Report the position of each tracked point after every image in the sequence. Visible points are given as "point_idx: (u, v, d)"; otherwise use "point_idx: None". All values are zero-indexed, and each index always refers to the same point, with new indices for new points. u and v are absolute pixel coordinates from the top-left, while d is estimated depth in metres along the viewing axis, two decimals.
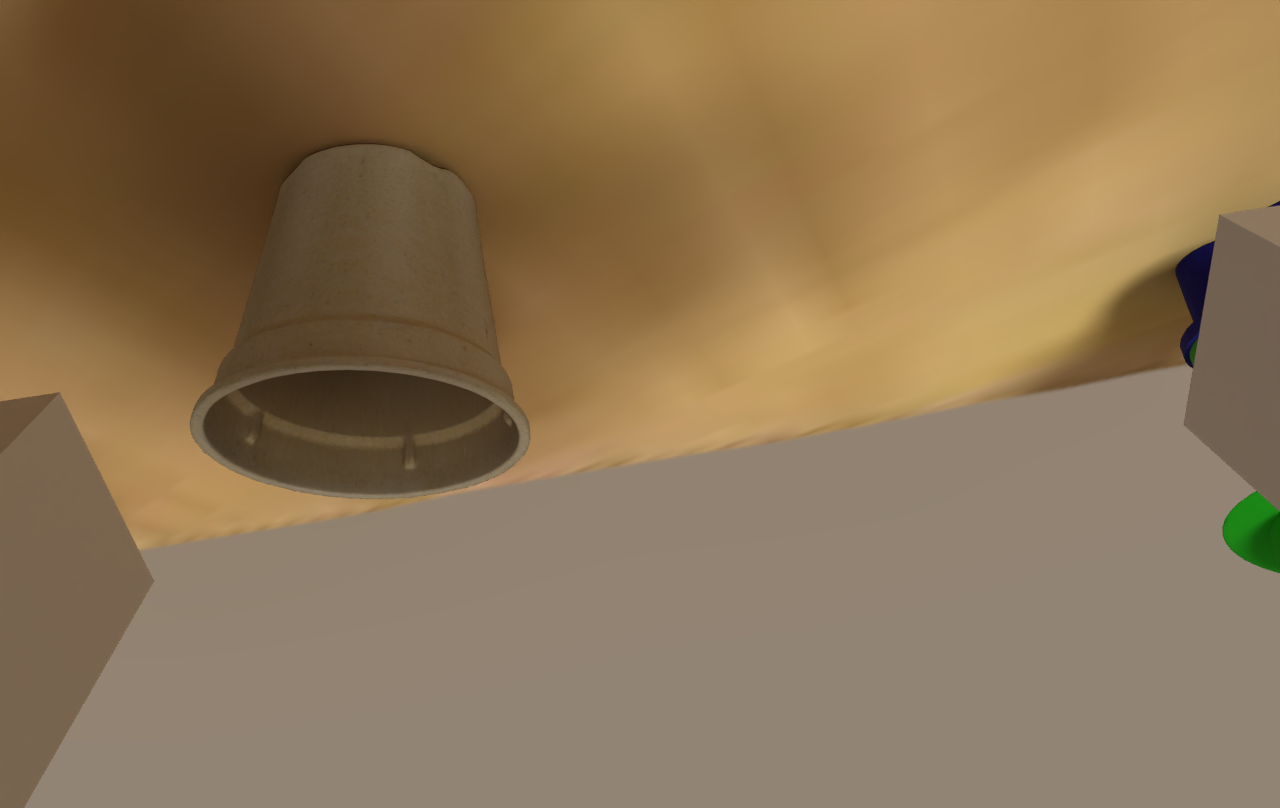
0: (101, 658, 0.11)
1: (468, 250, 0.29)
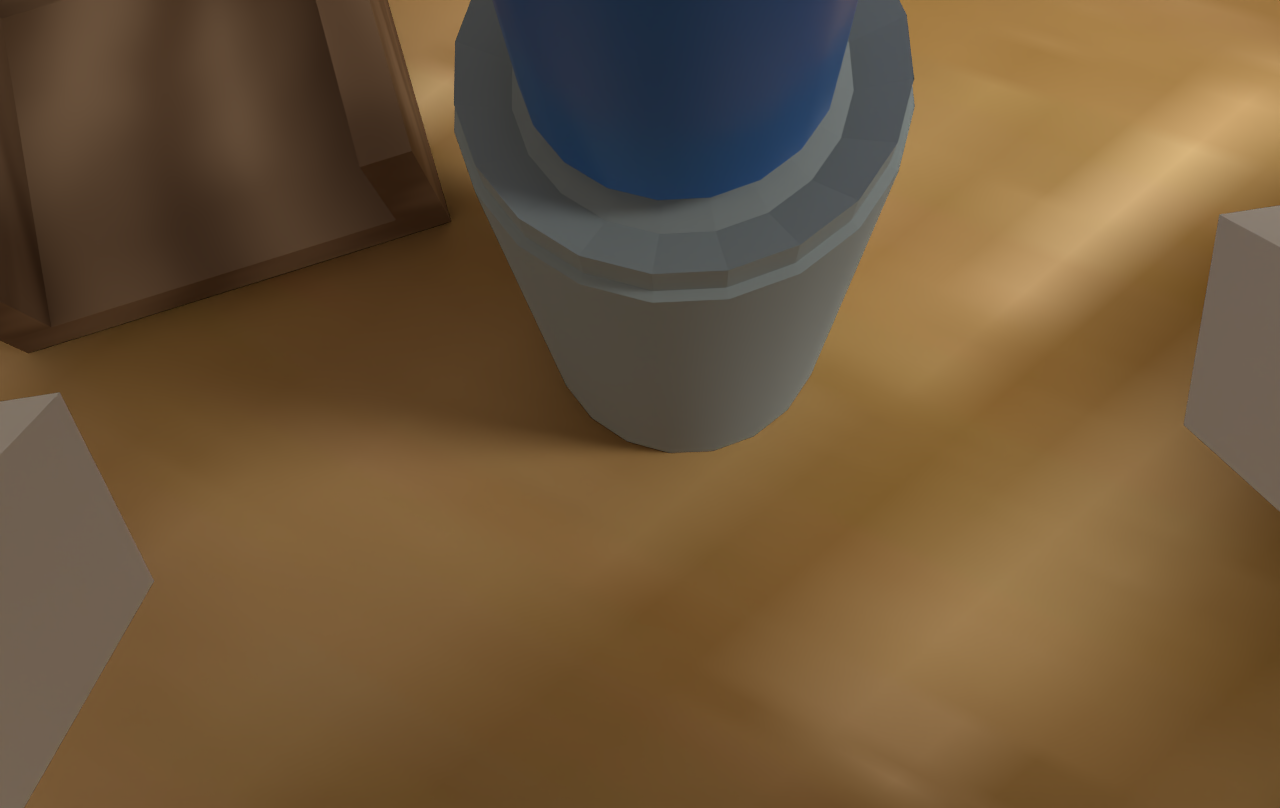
0: (101, 658, 0.11)
1: None
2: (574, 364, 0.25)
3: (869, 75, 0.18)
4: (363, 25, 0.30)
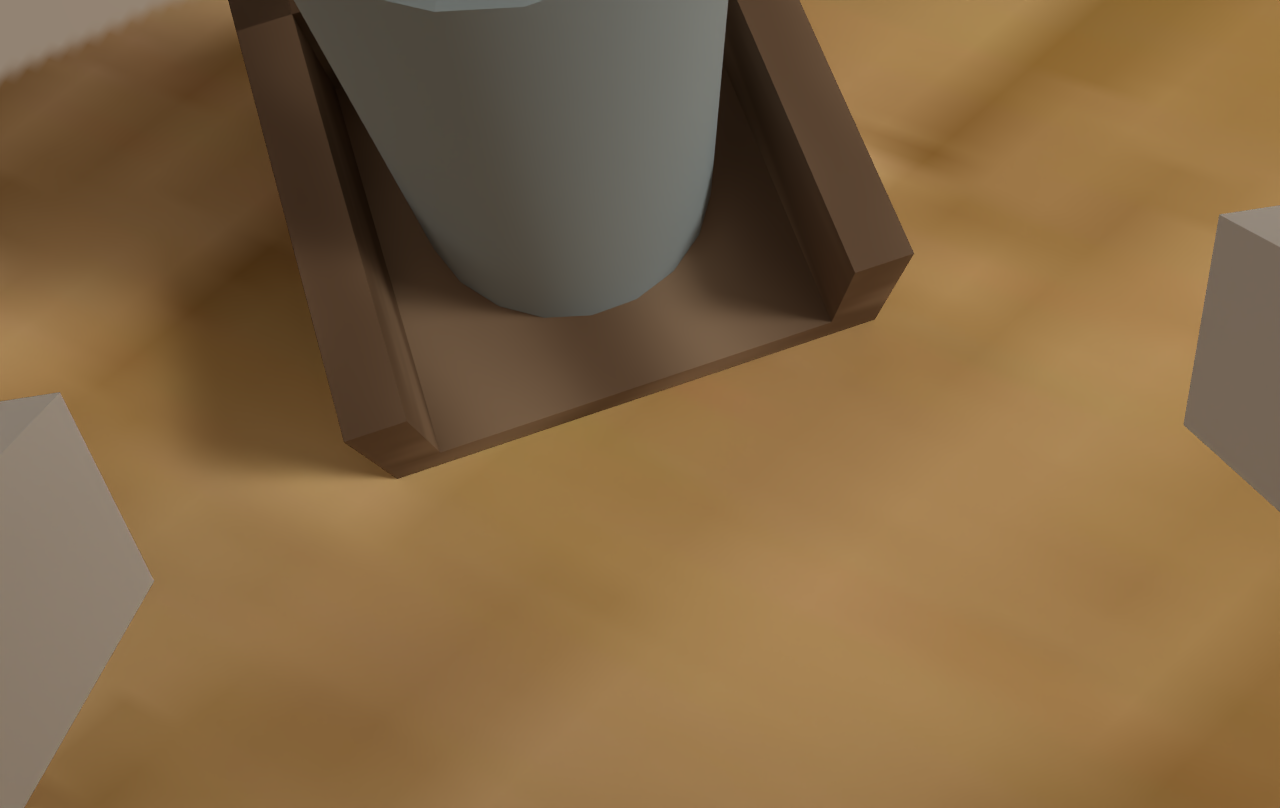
0: (102, 658, 0.11)
1: None
2: (411, 180, 0.22)
3: None
4: (831, 105, 0.26)
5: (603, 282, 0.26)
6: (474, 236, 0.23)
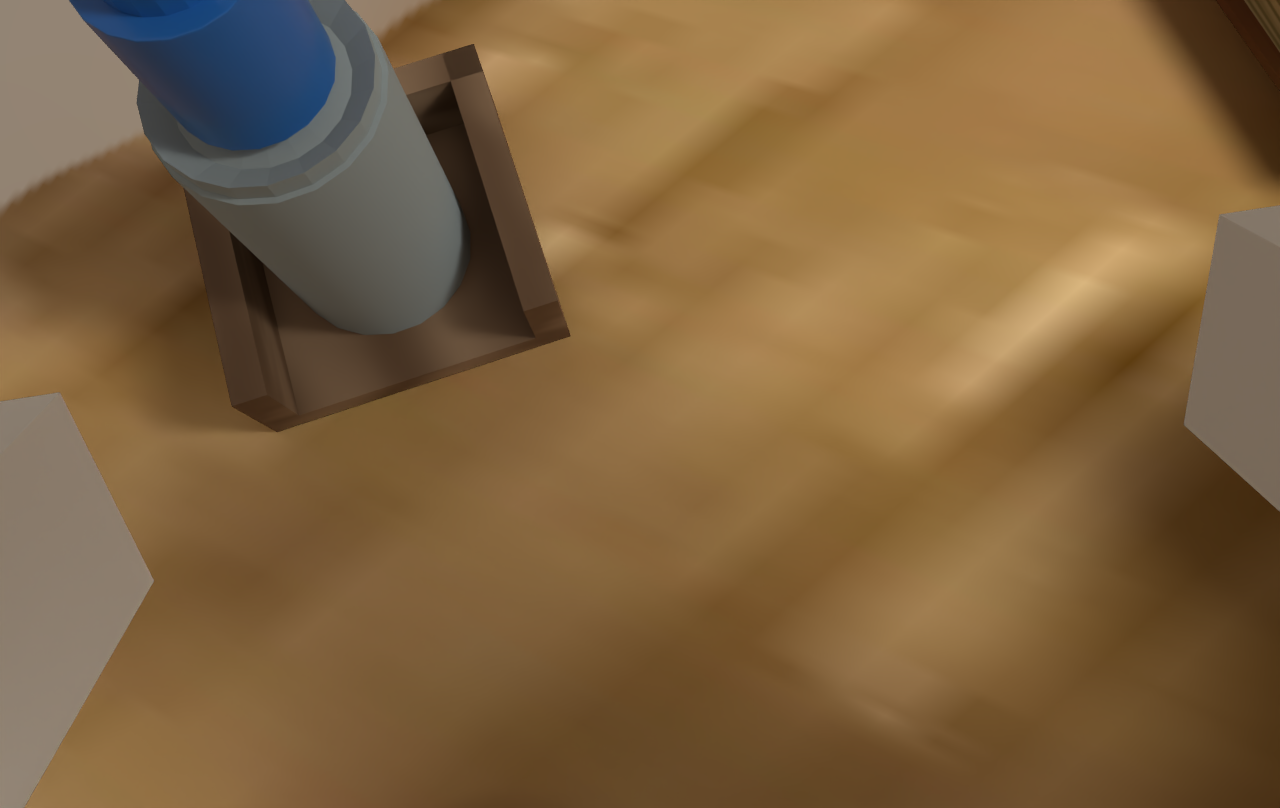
0: (101, 658, 0.11)
1: None
2: (264, 262, 0.41)
3: (357, 86, 0.34)
4: (520, 212, 0.44)
5: (390, 315, 0.44)
6: (304, 291, 0.42)
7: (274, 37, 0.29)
